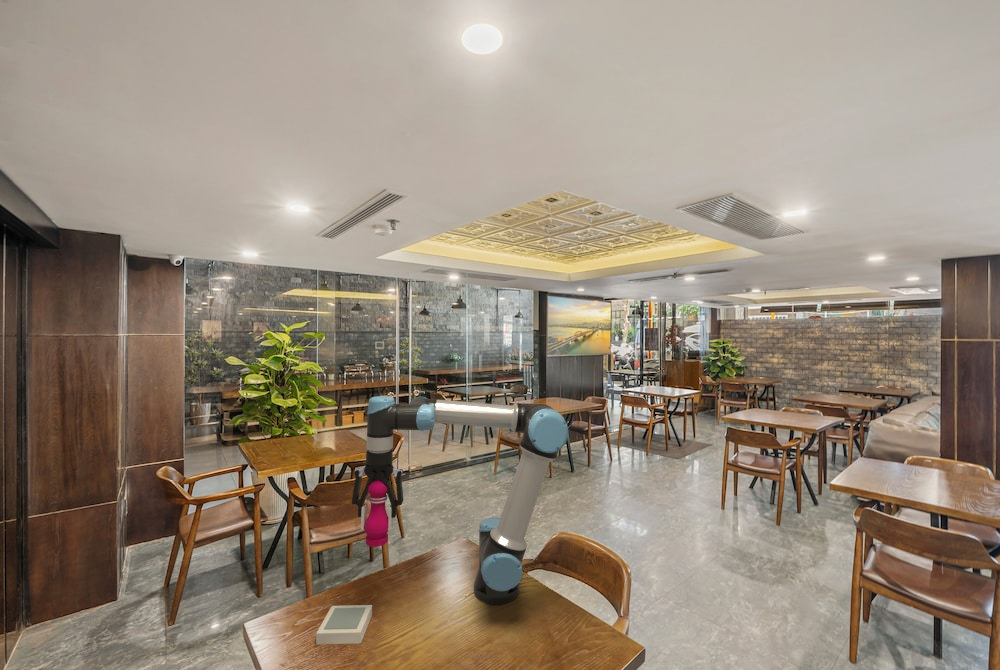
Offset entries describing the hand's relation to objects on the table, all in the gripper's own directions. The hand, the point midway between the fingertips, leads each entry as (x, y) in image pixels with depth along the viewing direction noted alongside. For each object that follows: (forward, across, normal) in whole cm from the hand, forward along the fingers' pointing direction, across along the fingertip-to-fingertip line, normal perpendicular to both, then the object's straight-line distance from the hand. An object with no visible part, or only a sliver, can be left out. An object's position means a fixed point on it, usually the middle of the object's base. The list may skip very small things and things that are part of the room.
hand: (377, 527), depth 125 cm
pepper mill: (+4, 0, 0) cm, 4 cm away
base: (+28, +8, +2) cm, 29 cm away
